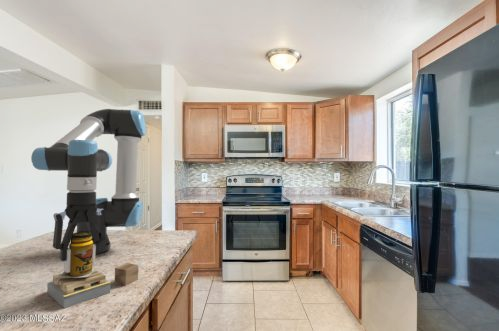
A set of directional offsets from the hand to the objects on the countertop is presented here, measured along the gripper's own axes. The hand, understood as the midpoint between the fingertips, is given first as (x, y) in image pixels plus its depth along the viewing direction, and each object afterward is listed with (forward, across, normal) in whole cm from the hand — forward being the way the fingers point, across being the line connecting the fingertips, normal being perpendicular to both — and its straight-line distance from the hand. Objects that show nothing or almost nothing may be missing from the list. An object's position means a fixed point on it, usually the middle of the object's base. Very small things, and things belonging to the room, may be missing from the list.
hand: (79, 267), depth 79 cm
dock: (+7, 0, 0) cm, 7 cm away
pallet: (+4, 0, 0) cm, 4 cm away
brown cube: (+7, +13, -3) cm, 15 cm away
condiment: (+2, -1, 0) cm, 2 cm away
